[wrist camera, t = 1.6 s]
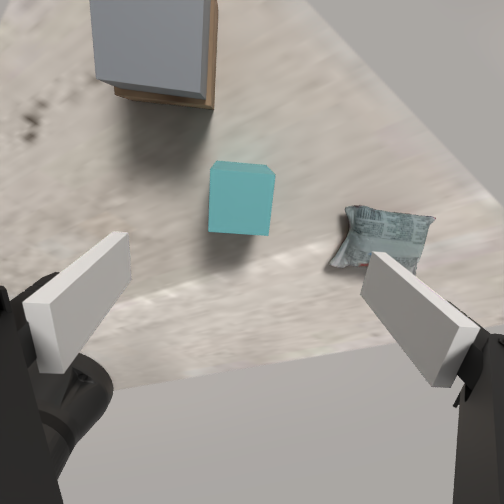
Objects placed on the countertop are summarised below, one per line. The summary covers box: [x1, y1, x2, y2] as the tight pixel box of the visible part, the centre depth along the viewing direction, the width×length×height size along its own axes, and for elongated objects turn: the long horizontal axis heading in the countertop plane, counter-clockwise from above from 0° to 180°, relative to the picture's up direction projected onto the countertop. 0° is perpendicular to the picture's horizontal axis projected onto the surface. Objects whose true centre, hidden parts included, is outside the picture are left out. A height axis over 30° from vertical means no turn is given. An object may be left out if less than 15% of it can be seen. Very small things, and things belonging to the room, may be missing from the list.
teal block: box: [208, 161, 275, 236], centre depth 31 cm, size 6×6×9 cm
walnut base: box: [114, 0, 218, 110], centre depth 28 cm, size 9×9×5 cm
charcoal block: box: [90, 0, 211, 100], centre depth 23 cm, size 8×8×5 cm
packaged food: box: [329, 205, 436, 276], centre depth 37 cm, size 9×12×5 cm
